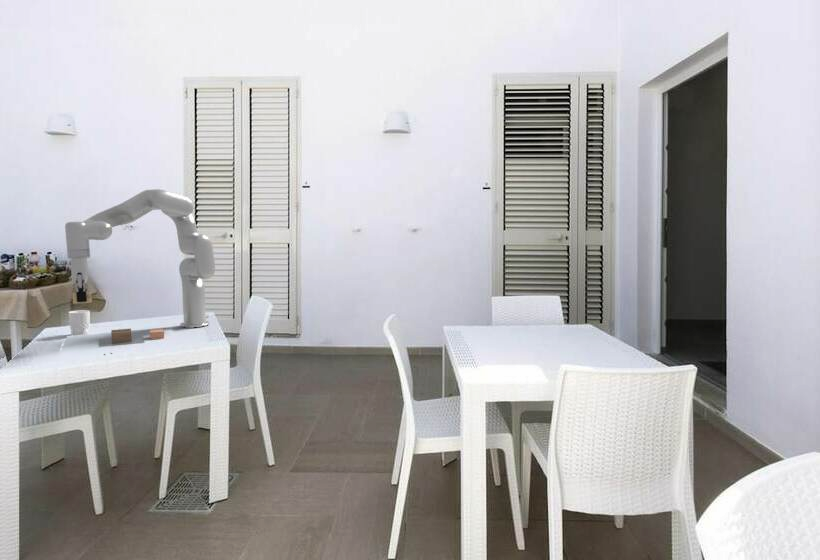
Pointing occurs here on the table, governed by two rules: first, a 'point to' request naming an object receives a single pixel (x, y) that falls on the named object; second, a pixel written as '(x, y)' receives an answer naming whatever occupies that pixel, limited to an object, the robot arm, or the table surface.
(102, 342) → the slate board
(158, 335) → the terracotta block
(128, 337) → the walnut base block
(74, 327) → the white cup
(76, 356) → the table surface
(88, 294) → the oak block
